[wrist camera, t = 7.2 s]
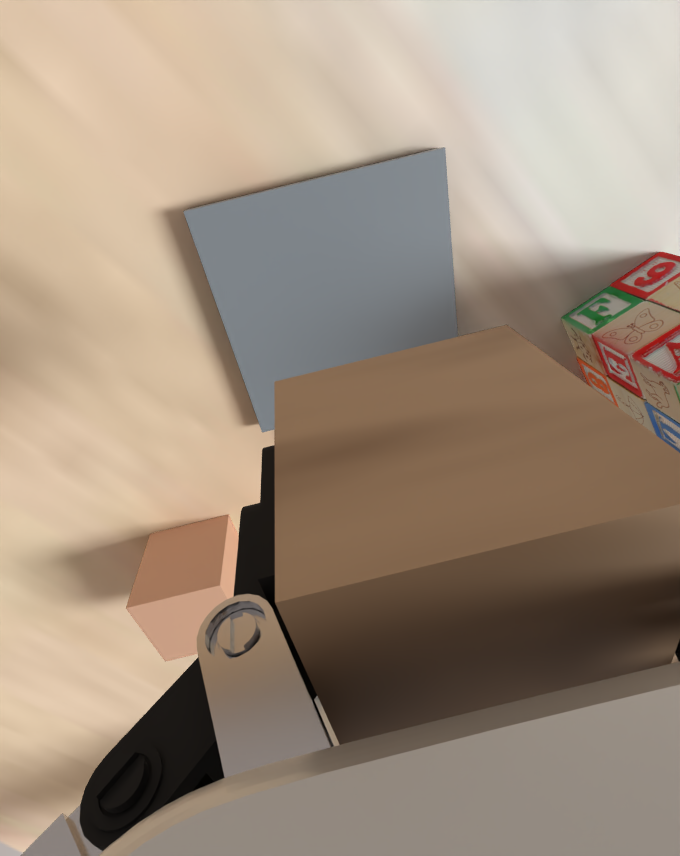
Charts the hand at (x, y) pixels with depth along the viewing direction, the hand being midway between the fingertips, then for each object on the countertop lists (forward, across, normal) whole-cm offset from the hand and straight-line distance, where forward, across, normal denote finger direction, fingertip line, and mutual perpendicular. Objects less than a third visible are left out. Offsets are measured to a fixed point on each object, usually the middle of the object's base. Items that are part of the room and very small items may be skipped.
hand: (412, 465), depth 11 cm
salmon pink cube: (+15, +13, +15) cm, 25 cm away
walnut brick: (+1, 0, 0) cm, 1 cm away
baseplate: (+15, 0, 0) cm, 15 cm away
